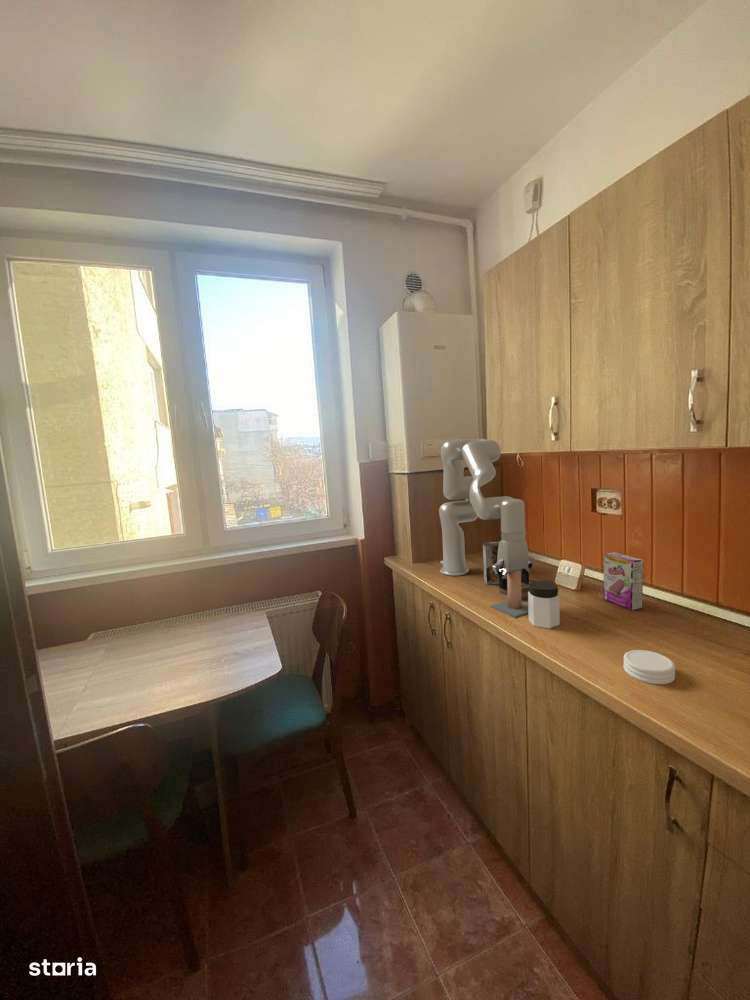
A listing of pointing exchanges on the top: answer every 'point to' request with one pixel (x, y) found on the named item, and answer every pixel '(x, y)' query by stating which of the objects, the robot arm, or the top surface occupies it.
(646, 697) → the top surface
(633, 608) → the candy bar box
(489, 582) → the coffee box
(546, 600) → the jar
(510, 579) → the peg
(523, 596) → the brown square box
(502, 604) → the mat
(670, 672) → the coaster
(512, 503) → the robot arm
